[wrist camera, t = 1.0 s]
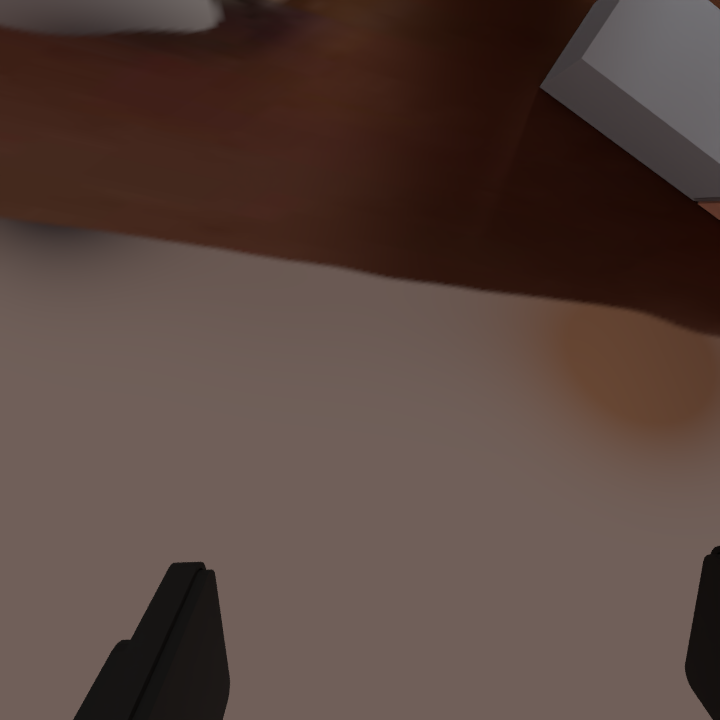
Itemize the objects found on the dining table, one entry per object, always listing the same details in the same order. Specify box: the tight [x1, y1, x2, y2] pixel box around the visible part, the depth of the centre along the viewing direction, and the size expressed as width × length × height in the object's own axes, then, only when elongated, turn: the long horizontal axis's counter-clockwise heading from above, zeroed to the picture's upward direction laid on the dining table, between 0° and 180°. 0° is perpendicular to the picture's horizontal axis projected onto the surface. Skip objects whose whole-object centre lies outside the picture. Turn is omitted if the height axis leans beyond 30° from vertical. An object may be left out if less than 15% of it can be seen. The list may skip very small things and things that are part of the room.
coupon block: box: [540, 0, 720, 202], centre depth 28 cm, size 12×5×6 cm, turn 58°
